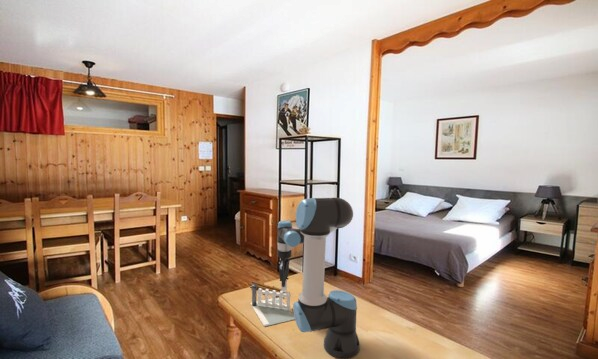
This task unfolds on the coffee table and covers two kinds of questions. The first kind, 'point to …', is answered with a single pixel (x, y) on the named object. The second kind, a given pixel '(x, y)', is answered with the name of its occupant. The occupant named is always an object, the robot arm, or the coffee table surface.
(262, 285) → the decorative fence
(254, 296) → the corner post
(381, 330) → the coffee table surface
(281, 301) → the fence panel
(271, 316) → the board
